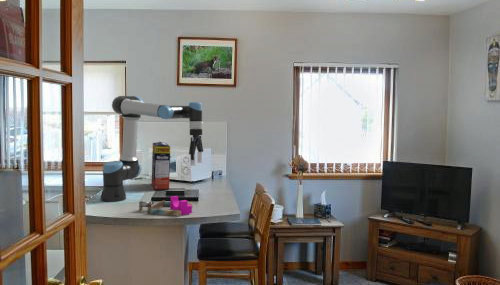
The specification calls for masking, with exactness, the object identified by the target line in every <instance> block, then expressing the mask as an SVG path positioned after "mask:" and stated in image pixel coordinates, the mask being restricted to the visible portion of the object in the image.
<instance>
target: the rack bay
mask: <svg viewBox="0 0 500 285" xmlns="http://www.w3.org/2000/svg"><path fill="white" fill-rule="evenodd" d="M188 204H189V205H191V206H192V208H193V206H194V205H193V202H188ZM163 207H171V201H169V200H168V201H166V200H161V201H159V202H157V203H154V204H153V205H151V207H150V208H148V207H147V214H148V215H159V214H161V215H162V216H175V215H178V216H179V217H181V216H182V215H181V211H180V210H171V209H164V208H163ZM162 208H163V209H162ZM161 215H160V216H161ZM180 215H181V216H180ZM178 216H177V217H178Z"/></svg>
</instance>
